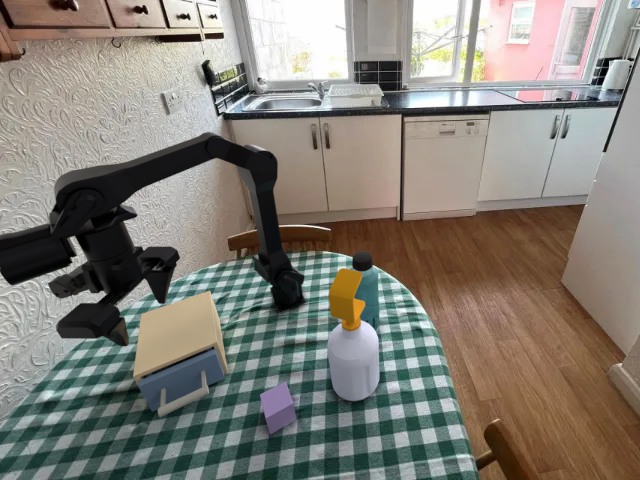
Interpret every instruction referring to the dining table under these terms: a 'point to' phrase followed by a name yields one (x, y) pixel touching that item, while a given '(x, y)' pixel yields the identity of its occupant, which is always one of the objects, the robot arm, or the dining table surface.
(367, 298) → the beverage bottle
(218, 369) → the blue drawer
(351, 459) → the dining table surface
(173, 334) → the drawer cabinet
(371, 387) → the spray bottle
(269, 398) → the purple cube
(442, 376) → the dining table surface
